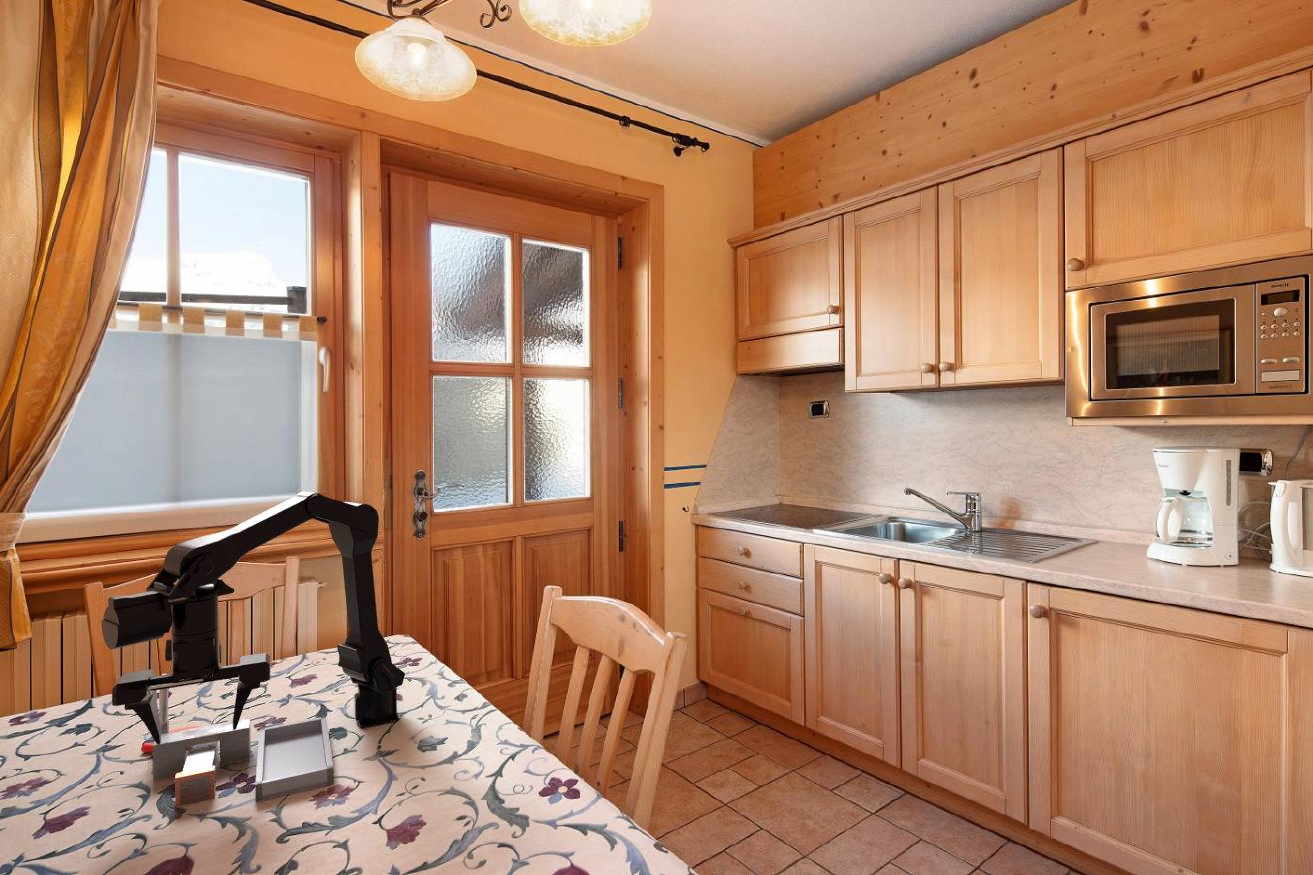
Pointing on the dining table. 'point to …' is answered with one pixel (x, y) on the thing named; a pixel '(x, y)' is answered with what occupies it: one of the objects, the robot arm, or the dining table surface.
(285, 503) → the robot arm
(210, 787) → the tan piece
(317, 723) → the tray
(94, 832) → the dining table surface
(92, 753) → the dining table surface
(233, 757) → the block
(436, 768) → the dining table surface
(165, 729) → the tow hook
